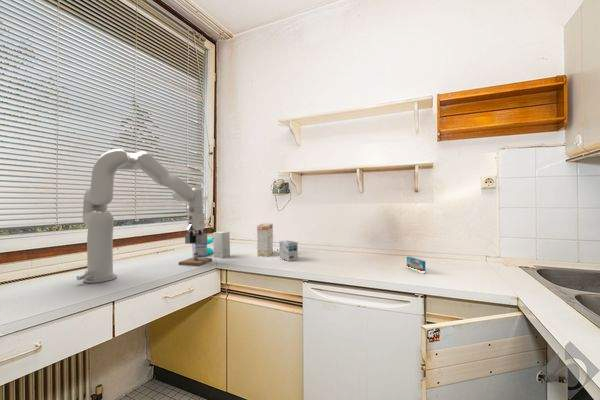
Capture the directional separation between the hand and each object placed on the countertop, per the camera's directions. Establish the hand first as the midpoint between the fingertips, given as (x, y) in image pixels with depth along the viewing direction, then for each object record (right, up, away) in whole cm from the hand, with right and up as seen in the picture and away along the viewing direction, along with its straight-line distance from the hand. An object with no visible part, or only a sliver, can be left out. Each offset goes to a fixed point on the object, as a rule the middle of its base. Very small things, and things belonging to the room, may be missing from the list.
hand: (196, 241), depth 166 cm
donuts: (-4, -12, +27) cm, 29 cm away
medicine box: (-4, -12, +17) cm, 22 cm away
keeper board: (0, -12, 0) cm, 12 cm away
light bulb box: (+52, -12, +9) cm, 54 cm away
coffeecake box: (+36, -12, +25) cm, 45 cm away
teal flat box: (+117, -13, -18) cm, 119 cm away
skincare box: (+10, -12, +16) cm, 22 cm away
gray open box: (0, -1, 0) cm, 1 cm away
